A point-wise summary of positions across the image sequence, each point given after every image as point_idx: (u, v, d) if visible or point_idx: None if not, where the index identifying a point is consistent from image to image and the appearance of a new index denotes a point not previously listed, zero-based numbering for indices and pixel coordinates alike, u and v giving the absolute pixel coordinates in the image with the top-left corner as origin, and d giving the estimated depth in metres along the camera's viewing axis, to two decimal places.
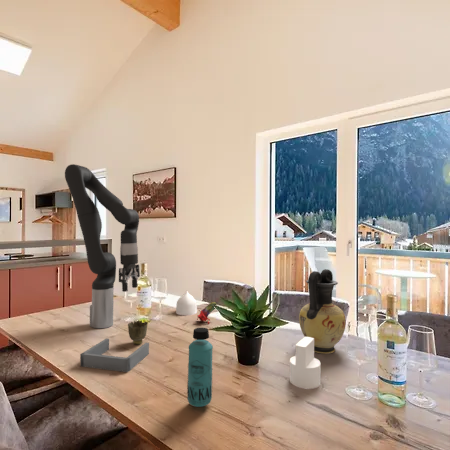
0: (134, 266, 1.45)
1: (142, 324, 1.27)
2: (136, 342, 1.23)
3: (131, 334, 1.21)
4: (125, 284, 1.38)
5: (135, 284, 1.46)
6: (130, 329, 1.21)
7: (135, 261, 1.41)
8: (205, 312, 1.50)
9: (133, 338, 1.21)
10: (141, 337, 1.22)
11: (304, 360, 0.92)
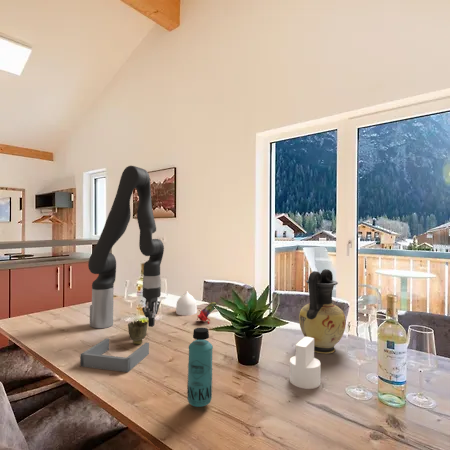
0: (156, 299, 1.38)
1: (142, 324, 1.27)
2: (136, 342, 1.23)
3: (131, 334, 1.21)
4: (151, 319, 1.35)
5: None
6: (130, 329, 1.21)
7: (158, 294, 1.34)
8: (205, 312, 1.50)
9: (133, 338, 1.21)
10: (141, 337, 1.22)
11: (304, 360, 0.92)
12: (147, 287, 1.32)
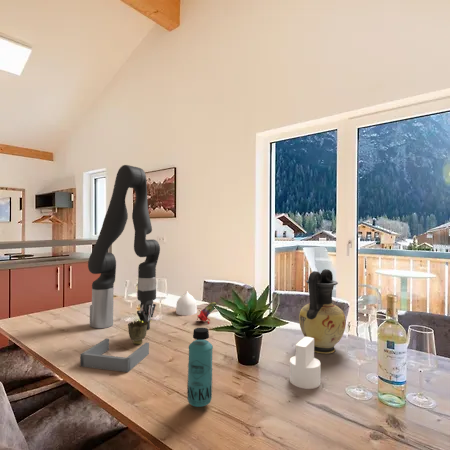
0: (151, 301, 1.34)
1: (142, 324, 1.27)
2: (136, 342, 1.23)
3: (131, 334, 1.21)
4: None
5: None
6: (130, 329, 1.21)
7: (153, 297, 1.30)
8: (205, 312, 1.50)
9: (133, 338, 1.21)
10: (141, 337, 1.22)
11: (304, 360, 0.92)
12: (142, 289, 1.28)
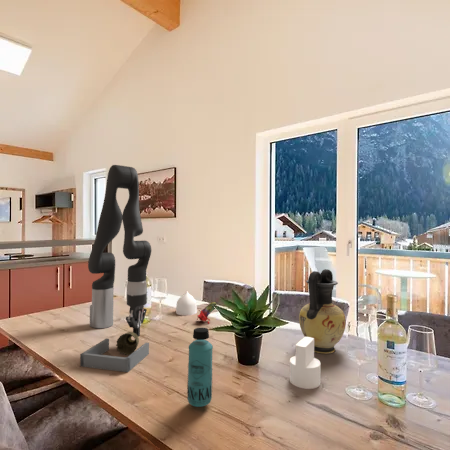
0: (142, 306, 1.25)
1: None
2: None
3: None
4: (136, 329, 1.22)
5: None
6: None
7: (144, 302, 1.21)
8: (205, 312, 1.50)
9: None
10: None
11: (304, 360, 0.92)
12: (131, 294, 1.19)
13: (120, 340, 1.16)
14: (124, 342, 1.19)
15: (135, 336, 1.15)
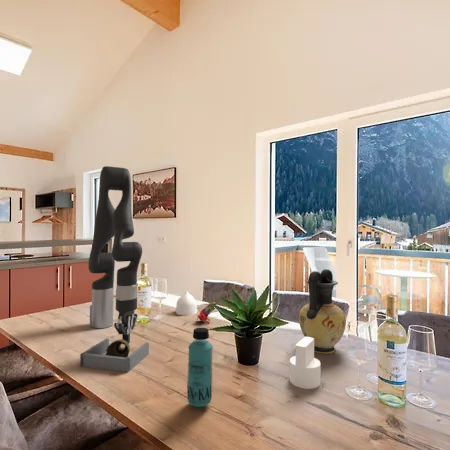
0: (132, 311, 1.18)
1: (120, 341, 1.08)
2: None
3: None
4: (126, 336, 1.15)
5: None
6: None
7: (134, 307, 1.14)
8: (205, 312, 1.50)
9: None
10: None
11: (304, 360, 0.92)
12: (120, 299, 1.12)
13: (109, 349, 1.09)
14: (113, 351, 1.11)
15: (126, 343, 1.09)
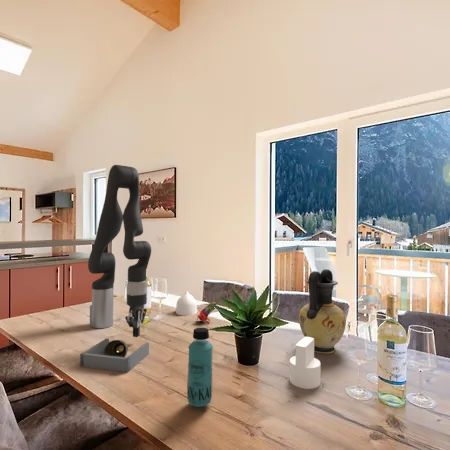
0: (142, 306, 1.26)
1: (116, 340, 1.09)
2: None
3: None
4: (136, 329, 1.23)
5: None
6: None
7: (143, 302, 1.22)
8: (205, 312, 1.50)
9: None
10: (126, 353, 1.11)
11: (304, 360, 0.92)
12: (131, 294, 1.20)
13: (107, 351, 1.09)
14: (112, 354, 1.11)
15: (122, 341, 1.09)
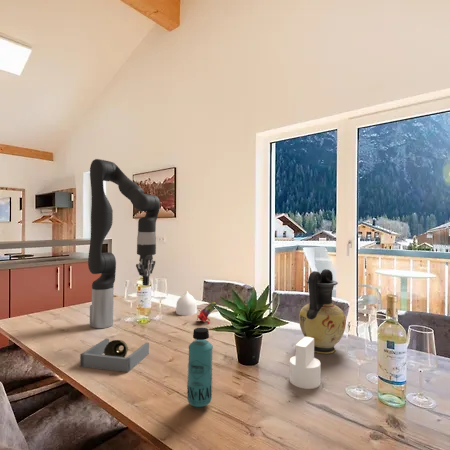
0: (151, 257, 1.33)
1: (116, 340, 1.09)
2: None
3: None
4: (146, 277, 1.29)
5: None
6: None
7: (153, 252, 1.29)
8: (205, 312, 1.50)
9: None
10: (126, 353, 1.11)
11: (304, 360, 0.92)
12: (141, 243, 1.27)
13: (107, 351, 1.09)
14: (112, 354, 1.11)
15: (122, 341, 1.09)
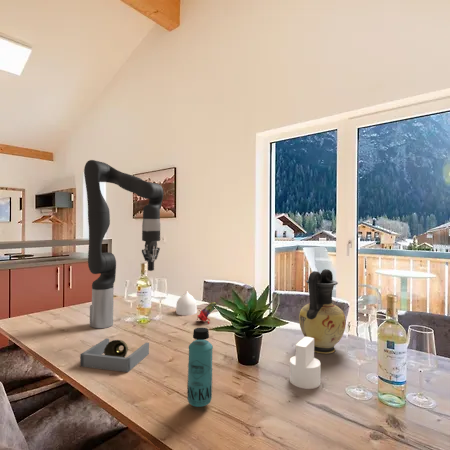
0: (156, 244, 1.37)
1: (116, 340, 1.09)
2: None
3: None
4: (151, 263, 1.34)
5: None
6: None
7: (158, 238, 1.33)
8: (205, 312, 1.50)
9: None
10: (126, 353, 1.11)
11: (304, 360, 0.92)
12: (147, 230, 1.31)
13: (107, 351, 1.09)
14: (112, 354, 1.11)
15: (122, 341, 1.09)
